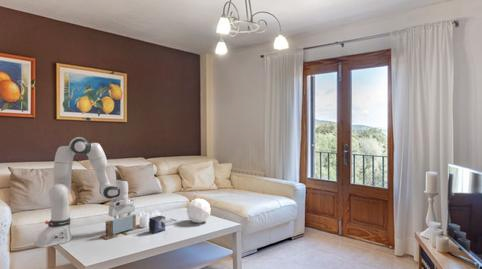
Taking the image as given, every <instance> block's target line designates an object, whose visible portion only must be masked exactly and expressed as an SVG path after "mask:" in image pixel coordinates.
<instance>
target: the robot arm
mask: <svg viewBox="0 0 482 269" xmlns="http://www.w3.org/2000/svg"><path fill="white" fill-rule="evenodd" d="M76 154H77V155H85V154H86V156H87V159H88V161H89V163H90V166H91V167H92V169H93V170H94V172H95V174H96V176H97V179H98V183H99V194H100V195H101V196H102V197H105V199H109V200H110V199H113V200H111V201H110V202H109V204H108V205H109V207H108V216H109V217H111V218H112V217H113V218H114V219H118V218H117V217H118V216H120V215H124V214H127V215H126V216H130V215H132V213H134V212H135V211H136V210H135V209H136V207H135V206H136V205H135V200H134V199H131V198H130V199H129V182H128V181H127V180H126V179H120V178H118V179H116V180H115V181H114V182H112V183H111V182H110V181H109V177H108V174H107V172H106V171H107V170H106V169H107V166H108V160H107V156H106V154H105V151H104V149H103V147H102V146H101V144H100V143H99V142H91V143H90V142H89V141H87V139H85V138H84V137H82V136H77V137H74V138H72V139H71V140H70V142H69V143H68V144H67V145H62V146H59V147H58V148H57V150H56V152H55V156H54V163H53V170H52V175H53V176H52V177H53V184H52V186H51V187H50V188H49V190H48V199H49V204H50V220H49V221H48V220H45V222H44V224H46V225H48V226H47V227H45V229H42V231H41V232H40V233H39V234H38V236H37V238H38V239H37V240H36V241H34V242H33V245H34V246H36V247H38V248H48V247H52V246H56V245H57V246H58V245H62V244H65V243H69V242H70V241H71V240H72V239H73V236H72V233H71V217H70V203H69V194H70V193H71V191H72V190H71V189H72V173H73V172H72V171H73V162H74V156H75V155H76ZM114 198H115V199H114ZM114 219H113V220H114Z"/></svg>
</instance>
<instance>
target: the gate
mask: <svg viewBox="0 0 482 269" xmlns="http://www.w3.org/2000/svg"><path fill="white" fill-rule="evenodd" d="M110 221H112V234H115V235H116V234H118V233H121V232H125V231H129V230H131V229H135V228H137V215H136V214H130V216H127V215H126V216H123V217H119V218H117V219H112V220H110Z"/></svg>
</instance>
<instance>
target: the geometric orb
mask: <svg viewBox="0 0 482 269" xmlns="http://www.w3.org/2000/svg"><path fill="white" fill-rule="evenodd" d="M211 211H212V209H211V206H210V203H209V202H208V201H207V200H206V199H203V198H195V199H193V200H191V201H190V202H189V204H188V205H187V208H186V213H187V217H188V219H189V220H190V221H191V222H192V223H197V224H202V223H204V222H206V221H207V220H208V219H209V218H210V216H211Z"/></svg>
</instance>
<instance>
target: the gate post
mask: <svg viewBox="0 0 482 269" xmlns="http://www.w3.org/2000/svg"><path fill="white" fill-rule="evenodd" d="M99 237H100V238H101V239H104V240H106V241H107V240H110V239H111V240H112V239H115V238H117V237H118V234H116V233H115V234H112V221H111V220H106V221H105V234H102V235H100V236H99Z"/></svg>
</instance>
